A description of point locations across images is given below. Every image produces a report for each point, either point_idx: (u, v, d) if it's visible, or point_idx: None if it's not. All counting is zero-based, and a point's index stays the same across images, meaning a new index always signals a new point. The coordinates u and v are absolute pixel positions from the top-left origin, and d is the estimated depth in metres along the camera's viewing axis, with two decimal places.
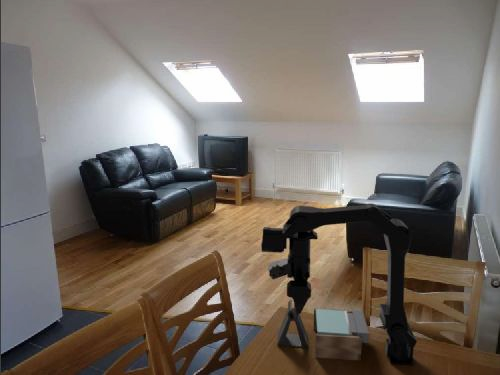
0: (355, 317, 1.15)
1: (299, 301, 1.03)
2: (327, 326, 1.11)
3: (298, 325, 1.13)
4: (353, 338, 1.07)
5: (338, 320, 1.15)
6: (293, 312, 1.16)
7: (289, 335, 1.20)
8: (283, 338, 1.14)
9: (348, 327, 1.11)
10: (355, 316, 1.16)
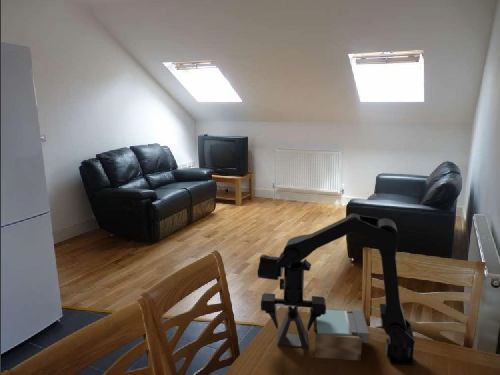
0: (355, 317, 1.15)
1: None
2: (327, 326, 1.11)
3: (298, 325, 1.13)
4: (353, 338, 1.07)
5: (338, 320, 1.15)
6: (293, 312, 1.16)
7: (289, 335, 1.20)
8: (283, 338, 1.14)
9: (348, 327, 1.11)
10: (355, 316, 1.16)
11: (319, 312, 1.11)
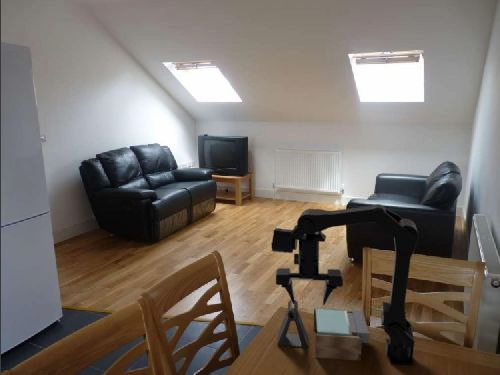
0: (355, 317, 1.15)
1: None
2: (327, 326, 1.11)
3: (298, 325, 1.13)
4: (353, 338, 1.07)
5: (338, 320, 1.15)
6: (293, 312, 1.16)
7: (289, 335, 1.20)
8: (283, 338, 1.14)
9: (348, 327, 1.11)
10: (355, 316, 1.16)
11: (336, 284, 1.08)
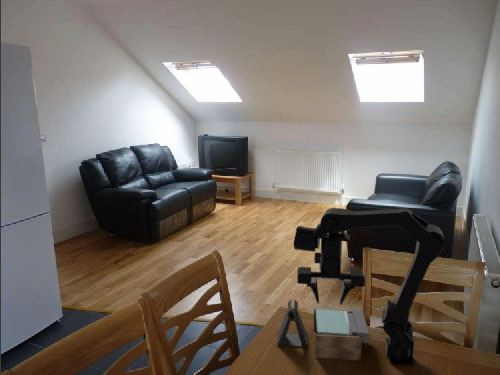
0: (355, 317, 1.15)
1: None
2: (327, 326, 1.11)
3: (298, 325, 1.13)
4: (353, 338, 1.07)
5: (338, 320, 1.15)
6: (293, 312, 1.16)
7: (289, 335, 1.20)
8: (283, 338, 1.14)
9: (348, 327, 1.11)
10: (355, 316, 1.16)
11: (358, 284, 1.08)
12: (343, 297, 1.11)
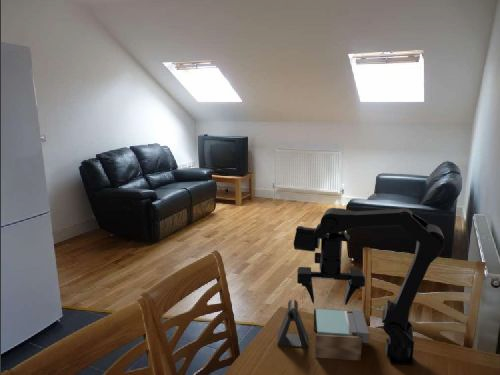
0: (355, 317, 1.15)
1: None
2: (327, 326, 1.11)
3: (298, 325, 1.13)
4: (353, 338, 1.07)
5: (338, 320, 1.15)
6: (293, 312, 1.16)
7: (289, 335, 1.20)
8: (283, 338, 1.14)
9: (348, 327, 1.11)
10: (355, 316, 1.16)
11: (358, 284, 1.08)
12: (348, 297, 1.10)
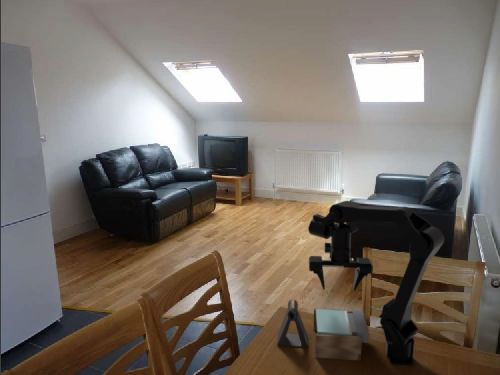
0: (355, 317, 1.15)
1: None
2: (327, 326, 1.11)
3: (298, 325, 1.13)
4: (353, 338, 1.07)
5: (338, 320, 1.15)
6: (293, 312, 1.16)
7: (289, 335, 1.20)
8: (283, 338, 1.14)
9: (348, 327, 1.11)
10: (355, 316, 1.16)
11: (366, 271, 1.15)
12: (357, 284, 1.18)
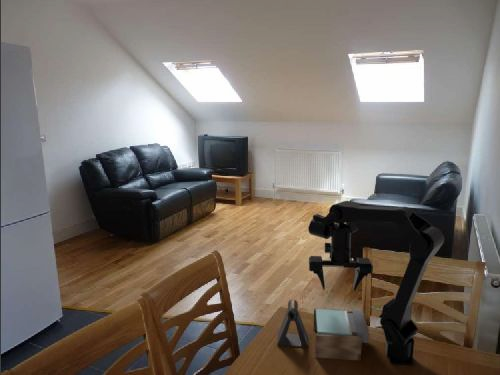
0: (355, 317, 1.15)
1: None
2: (327, 326, 1.11)
3: (298, 325, 1.13)
4: (353, 338, 1.07)
5: (338, 320, 1.15)
6: (293, 312, 1.16)
7: (289, 335, 1.20)
8: (283, 338, 1.14)
9: (348, 327, 1.11)
10: (355, 316, 1.16)
11: (366, 271, 1.15)
12: (357, 284, 1.18)
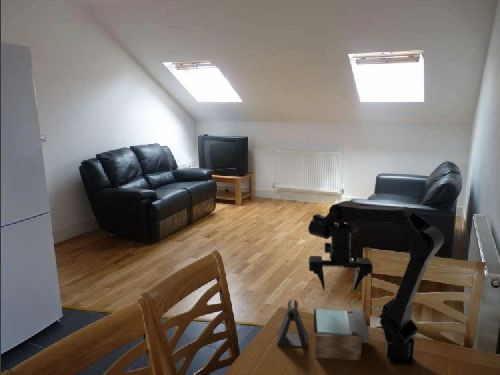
0: (355, 317, 1.15)
1: None
2: (327, 326, 1.11)
3: (298, 325, 1.13)
4: (353, 338, 1.07)
5: (338, 320, 1.15)
6: (293, 312, 1.16)
7: (289, 335, 1.20)
8: (283, 338, 1.14)
9: (348, 327, 1.11)
10: (355, 316, 1.16)
11: (366, 271, 1.15)
12: (357, 284, 1.18)
